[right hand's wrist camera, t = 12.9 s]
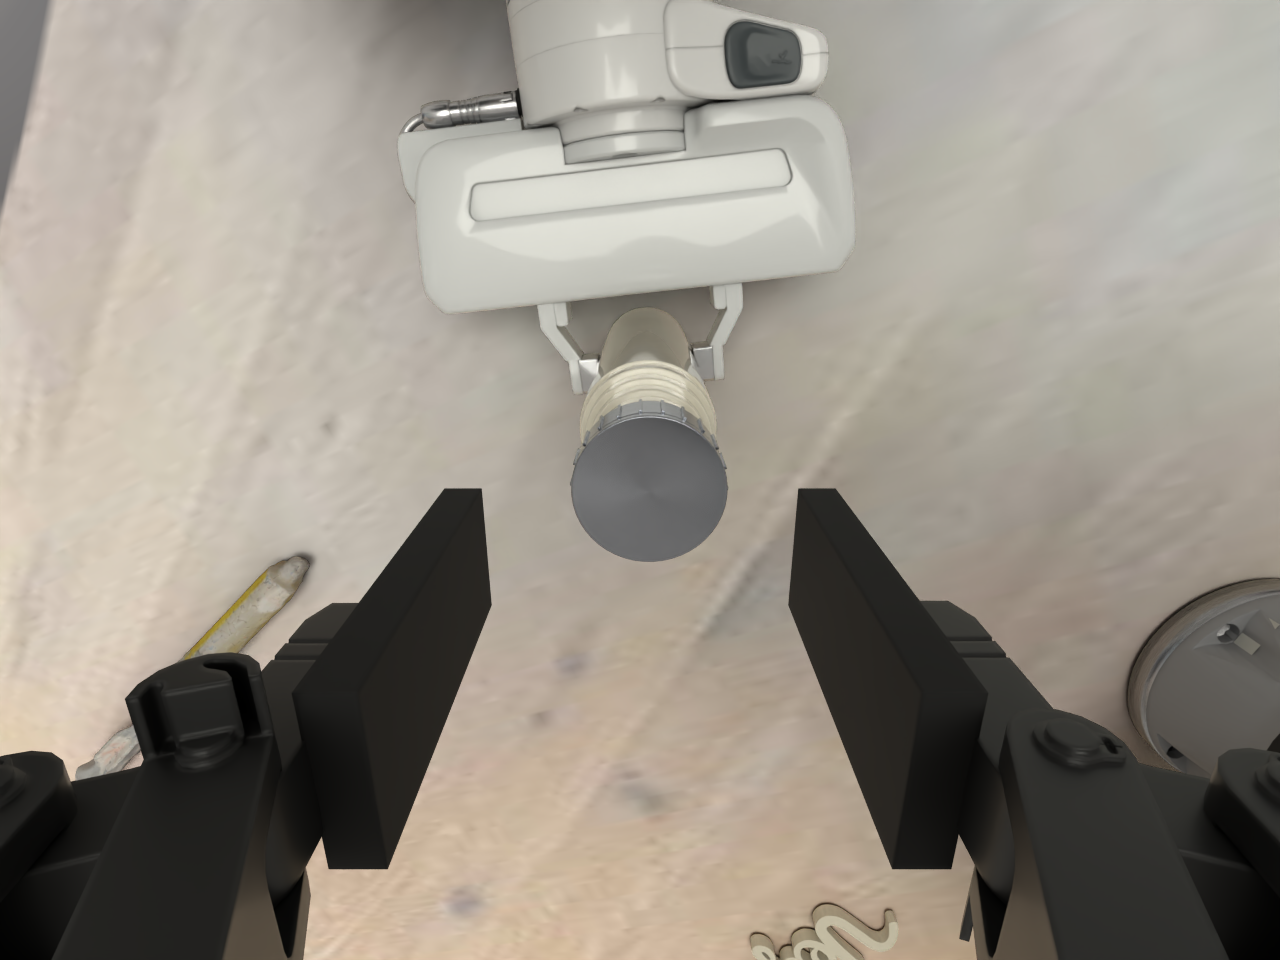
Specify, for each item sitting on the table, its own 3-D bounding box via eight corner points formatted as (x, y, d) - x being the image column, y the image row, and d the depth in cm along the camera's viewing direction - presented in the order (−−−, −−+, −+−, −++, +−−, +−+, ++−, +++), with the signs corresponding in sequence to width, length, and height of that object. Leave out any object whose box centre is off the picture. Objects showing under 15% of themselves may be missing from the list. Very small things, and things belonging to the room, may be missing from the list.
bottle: (635, 290, 39) (625, 363, 17) (703, 337, 40) (774, 464, 18) (590, 359, 41) (526, 508, 19) (656, 403, 42) (670, 595, 20)
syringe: (293, 539, 45) (271, 558, 42) (338, 577, 45) (319, 598, 43) (83, 743, 51) (52, 770, 48) (126, 773, 51) (98, 802, 49)
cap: (628, 368, 19) (627, 381, 17) (752, 452, 20) (762, 472, 18) (547, 487, 20) (539, 510, 18) (667, 562, 21) (669, 590, 19)
